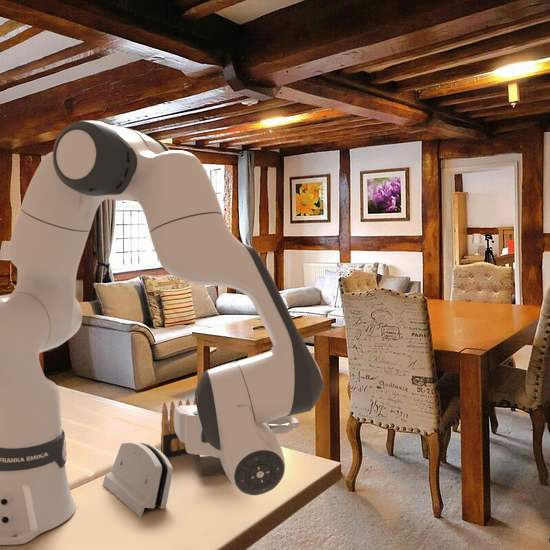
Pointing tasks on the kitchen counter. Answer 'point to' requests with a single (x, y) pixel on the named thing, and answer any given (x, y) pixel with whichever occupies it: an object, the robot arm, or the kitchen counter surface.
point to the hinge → (140, 477)
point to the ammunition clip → (171, 433)
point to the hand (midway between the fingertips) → (227, 403)
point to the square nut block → (209, 465)
